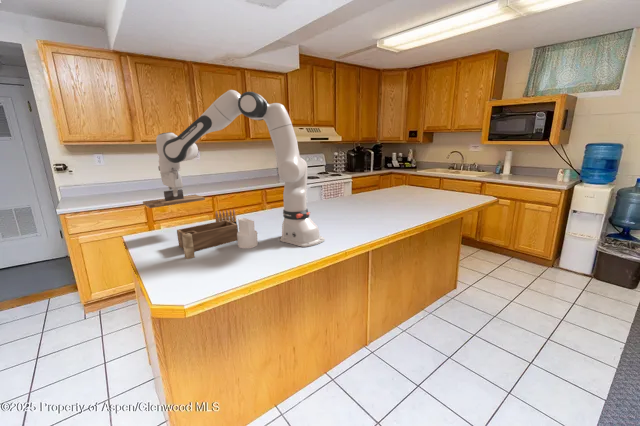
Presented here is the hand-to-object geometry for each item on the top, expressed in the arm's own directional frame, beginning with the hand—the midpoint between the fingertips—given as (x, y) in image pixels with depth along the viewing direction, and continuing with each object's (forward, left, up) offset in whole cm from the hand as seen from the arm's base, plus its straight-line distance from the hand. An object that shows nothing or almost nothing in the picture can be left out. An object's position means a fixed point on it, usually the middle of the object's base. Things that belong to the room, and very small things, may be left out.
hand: (174, 195), depth 145 cm
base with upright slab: (-36, -19, -21) cm, 46 cm away
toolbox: (-21, -7, -21) cm, 31 cm away
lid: (0, 0, -3) cm, 3 cm away
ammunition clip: (-10, -21, -21) cm, 32 cm away
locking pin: (-32, +6, -21) cm, 39 cm away
